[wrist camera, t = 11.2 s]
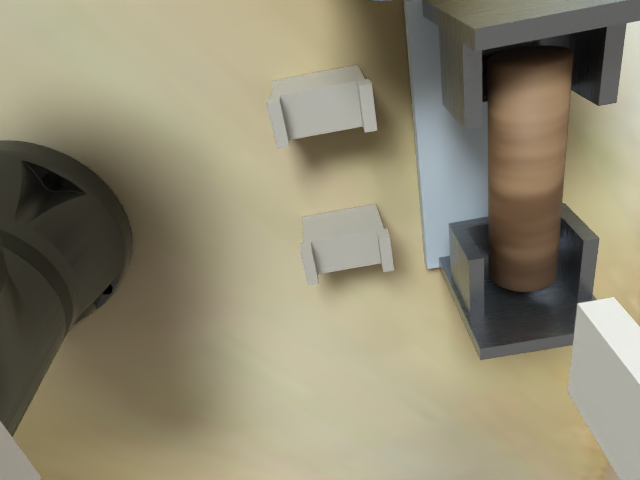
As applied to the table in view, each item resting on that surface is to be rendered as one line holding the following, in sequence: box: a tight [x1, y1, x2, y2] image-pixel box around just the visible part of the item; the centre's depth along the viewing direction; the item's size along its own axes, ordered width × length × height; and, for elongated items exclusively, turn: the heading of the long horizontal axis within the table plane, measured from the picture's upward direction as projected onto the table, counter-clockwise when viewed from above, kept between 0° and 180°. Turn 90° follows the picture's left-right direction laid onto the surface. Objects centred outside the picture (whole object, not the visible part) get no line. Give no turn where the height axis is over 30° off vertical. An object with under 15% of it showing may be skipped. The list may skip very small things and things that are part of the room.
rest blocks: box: [267, 65, 394, 285], centre depth 38 cm, size 6×14×5 cm, turn 10°
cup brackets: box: [422, 0, 640, 360], centre depth 34 cm, size 9×21×12 cm, turn 10°
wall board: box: [404, 0, 488, 269], centre depth 39 cm, size 11×21×1 cm, turn 10°
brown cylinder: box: [487, 45, 574, 292], centre depth 33 cm, size 15×4×4 cm, turn 10°
